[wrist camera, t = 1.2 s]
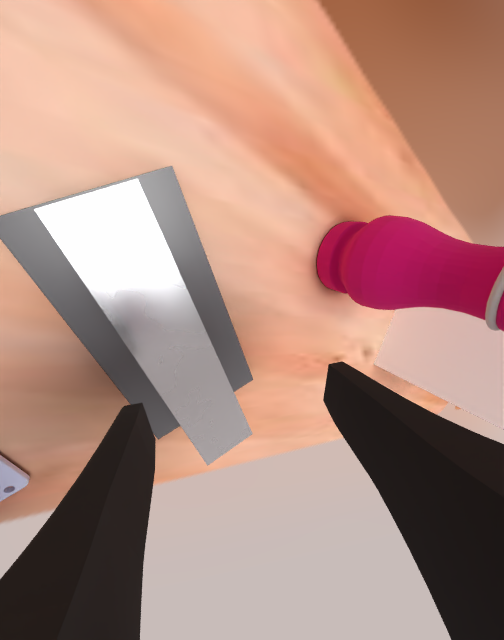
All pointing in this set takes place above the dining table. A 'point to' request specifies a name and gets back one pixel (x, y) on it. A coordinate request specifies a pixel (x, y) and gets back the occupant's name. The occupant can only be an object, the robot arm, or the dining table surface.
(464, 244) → the pepper mill
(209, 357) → the bar
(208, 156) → the dining table surface
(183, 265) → the board
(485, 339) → the milk
